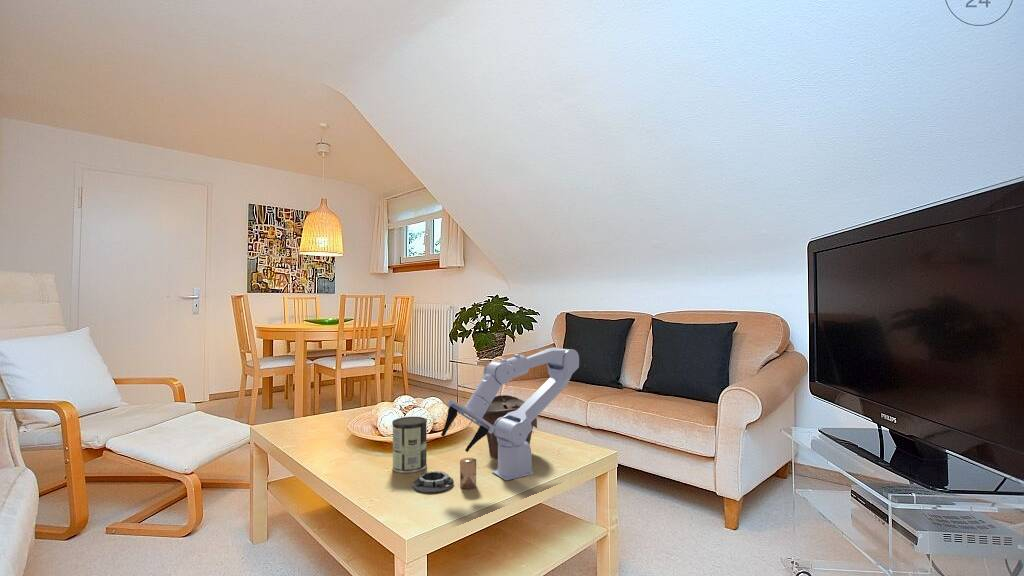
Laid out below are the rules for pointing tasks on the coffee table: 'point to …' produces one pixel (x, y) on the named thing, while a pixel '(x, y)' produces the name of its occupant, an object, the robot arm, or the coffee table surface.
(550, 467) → the coffee table surface
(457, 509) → the coffee table surface
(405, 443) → the coffee can
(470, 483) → the pipe stub
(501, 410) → the brown trash bin
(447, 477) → the flange
